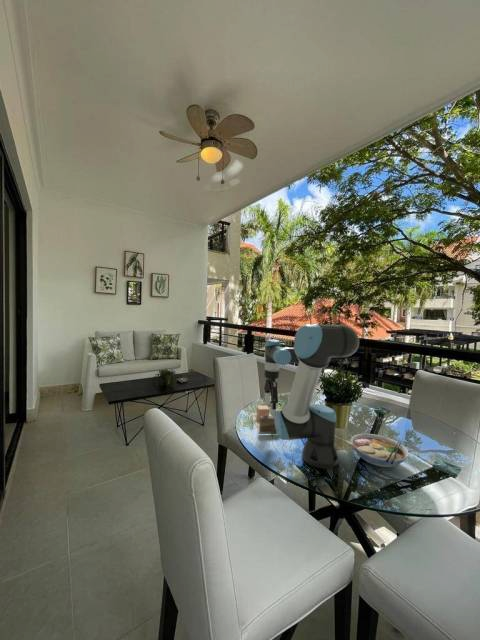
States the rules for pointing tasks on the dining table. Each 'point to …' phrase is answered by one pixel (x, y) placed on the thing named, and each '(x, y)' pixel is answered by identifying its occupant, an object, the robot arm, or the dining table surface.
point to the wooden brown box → (264, 423)
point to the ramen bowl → (379, 450)
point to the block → (262, 411)
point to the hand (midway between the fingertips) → (269, 409)
